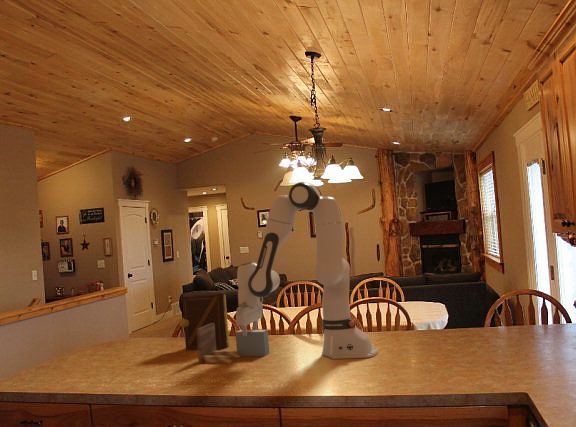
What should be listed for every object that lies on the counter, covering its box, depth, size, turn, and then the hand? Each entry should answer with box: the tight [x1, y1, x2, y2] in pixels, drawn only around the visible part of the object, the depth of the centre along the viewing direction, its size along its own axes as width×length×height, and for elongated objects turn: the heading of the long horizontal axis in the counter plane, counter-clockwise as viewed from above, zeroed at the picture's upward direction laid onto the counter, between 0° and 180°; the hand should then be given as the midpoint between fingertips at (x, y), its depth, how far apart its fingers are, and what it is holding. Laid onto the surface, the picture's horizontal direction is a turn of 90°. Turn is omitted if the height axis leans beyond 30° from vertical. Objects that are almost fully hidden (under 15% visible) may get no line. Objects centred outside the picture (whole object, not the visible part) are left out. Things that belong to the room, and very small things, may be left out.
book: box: [179, 291, 230, 351], centre depth 247 cm, size 22×8×25 cm, turn 84°
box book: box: [235, 329, 270, 357], centre depth 227 cm, size 13×4×10 cm, turn 70°
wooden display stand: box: [196, 323, 241, 364], centre depth 222 cm, size 14×13×14 cm
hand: (250, 333), depth 227 cm, fingers open, 8 cm apart
